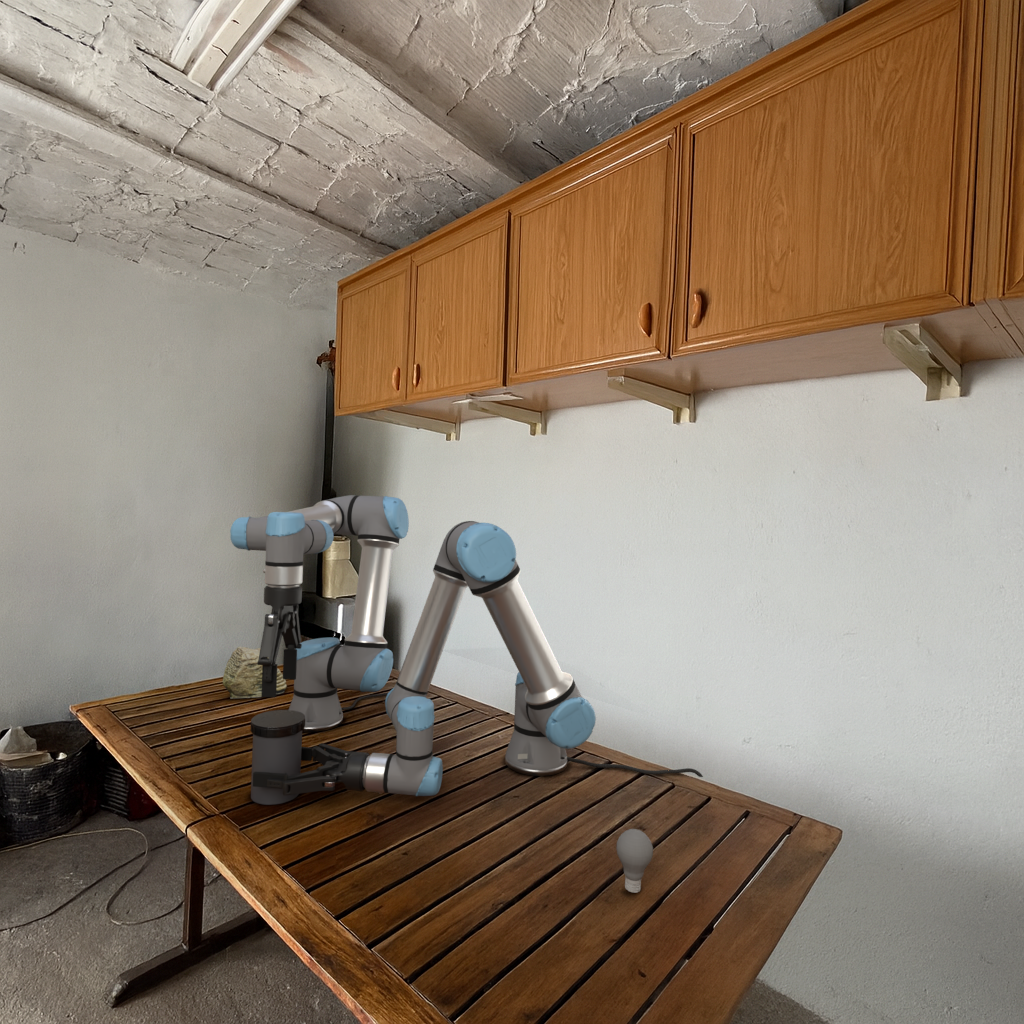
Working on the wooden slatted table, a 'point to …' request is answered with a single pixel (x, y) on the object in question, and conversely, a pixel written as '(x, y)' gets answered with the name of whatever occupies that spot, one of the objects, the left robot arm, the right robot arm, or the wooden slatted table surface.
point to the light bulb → (634, 857)
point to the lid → (277, 723)
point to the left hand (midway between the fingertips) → (279, 687)
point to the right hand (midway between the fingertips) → (268, 764)
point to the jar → (275, 764)
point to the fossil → (247, 674)
